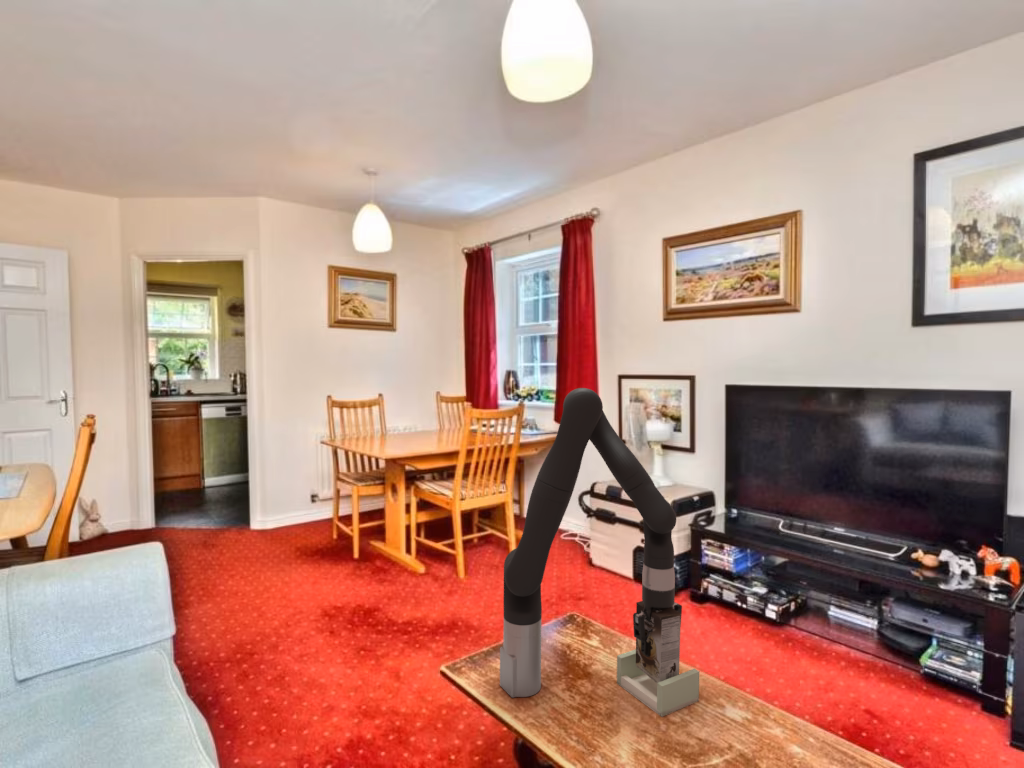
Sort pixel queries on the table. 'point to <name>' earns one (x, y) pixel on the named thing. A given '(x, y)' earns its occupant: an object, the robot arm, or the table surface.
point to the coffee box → (661, 644)
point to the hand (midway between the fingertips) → (657, 651)
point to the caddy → (657, 686)
